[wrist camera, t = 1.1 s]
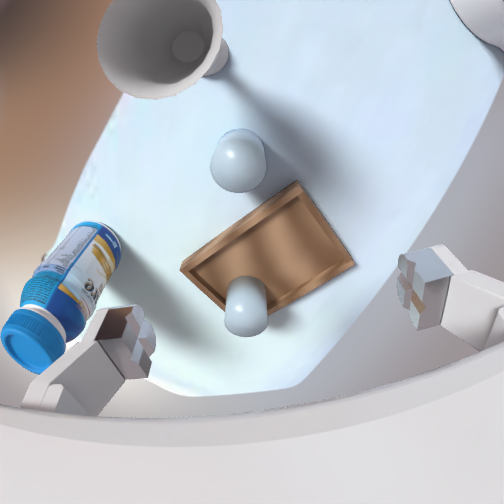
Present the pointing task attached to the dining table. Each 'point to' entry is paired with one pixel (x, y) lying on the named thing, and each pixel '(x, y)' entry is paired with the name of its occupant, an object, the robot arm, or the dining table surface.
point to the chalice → (160, 45)
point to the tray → (272, 251)
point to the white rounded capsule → (246, 307)
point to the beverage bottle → (61, 296)
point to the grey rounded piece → (239, 161)
